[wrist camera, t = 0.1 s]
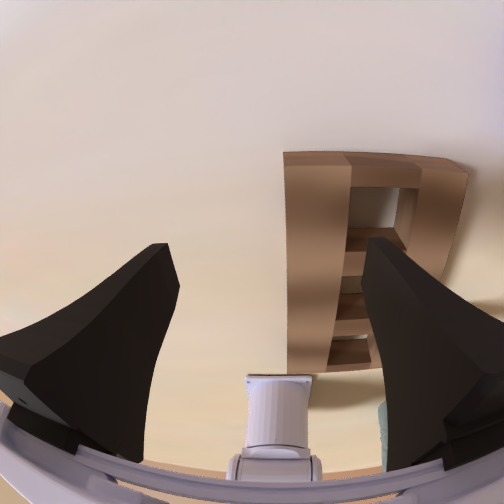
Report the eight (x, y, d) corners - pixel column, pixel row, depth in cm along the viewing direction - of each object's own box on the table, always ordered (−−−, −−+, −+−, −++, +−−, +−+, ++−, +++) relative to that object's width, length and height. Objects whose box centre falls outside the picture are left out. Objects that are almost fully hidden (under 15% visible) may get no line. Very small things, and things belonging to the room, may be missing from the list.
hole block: (396, 342, 28) (402, 365, 25) (287, 349, 29) (287, 373, 27) (447, 158, 16) (468, 173, 14) (283, 152, 18) (284, 166, 15)
